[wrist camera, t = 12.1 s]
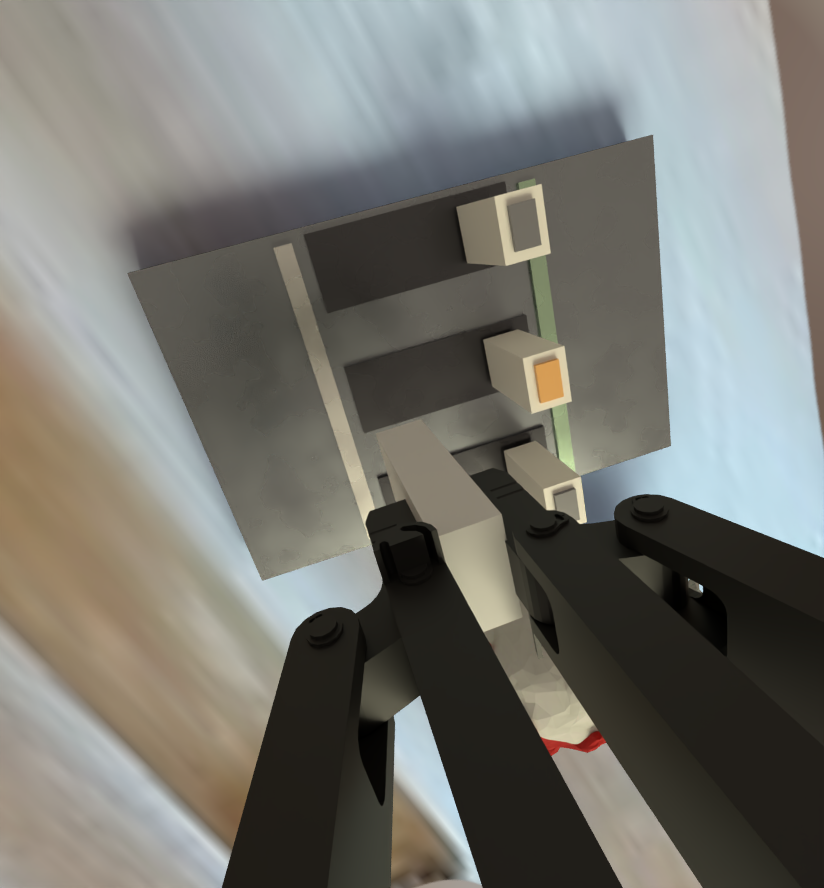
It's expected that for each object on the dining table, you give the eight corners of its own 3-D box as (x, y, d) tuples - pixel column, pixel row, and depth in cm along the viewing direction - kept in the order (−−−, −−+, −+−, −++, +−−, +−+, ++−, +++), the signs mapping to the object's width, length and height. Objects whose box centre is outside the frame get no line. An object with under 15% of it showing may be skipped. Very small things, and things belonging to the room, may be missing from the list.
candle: (655, 529, 34) (569, 689, 40) (496, 511, 31) (430, 687, 37) (760, 637, 26) (635, 816, 32) (563, 627, 23) (465, 826, 29)
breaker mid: (492, 386, 26) (533, 415, 22) (483, 339, 25) (524, 359, 21) (525, 375, 26) (574, 402, 22) (518, 329, 25) (566, 346, 21)
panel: (264, 560, 30) (262, 582, 28) (140, 271, 24) (126, 273, 22) (649, 434, 32) (673, 446, 30) (627, 142, 26) (655, 133, 24)
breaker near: (467, 263, 24) (508, 266, 19) (456, 206, 23) (496, 195, 18) (504, 252, 24) (553, 253, 19) (494, 196, 23) (543, 183, 19)
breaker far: (511, 490, 28) (552, 536, 24) (503, 450, 28) (545, 491, 23) (542, 480, 29) (589, 524, 24) (535, 440, 28) (583, 478, 23)
